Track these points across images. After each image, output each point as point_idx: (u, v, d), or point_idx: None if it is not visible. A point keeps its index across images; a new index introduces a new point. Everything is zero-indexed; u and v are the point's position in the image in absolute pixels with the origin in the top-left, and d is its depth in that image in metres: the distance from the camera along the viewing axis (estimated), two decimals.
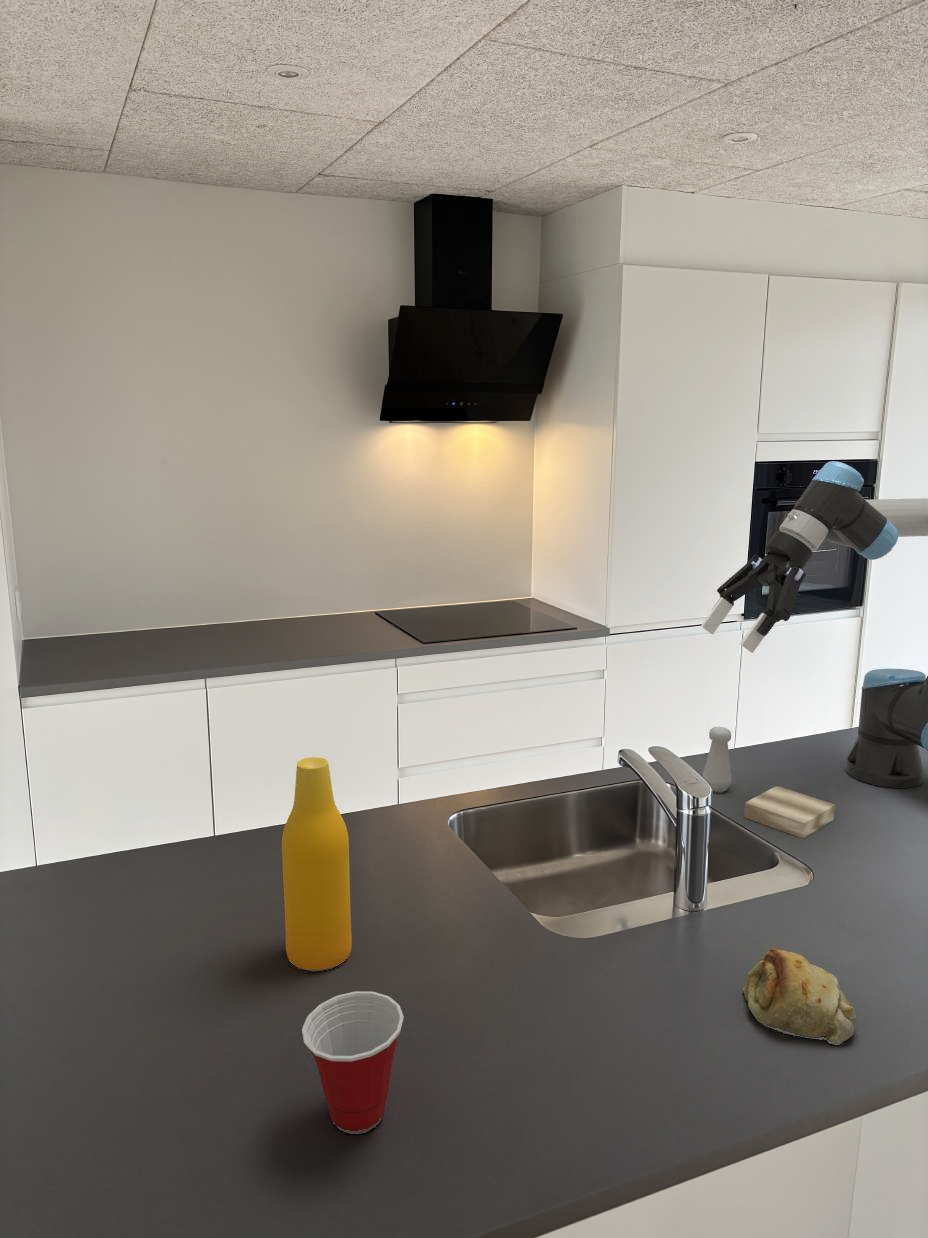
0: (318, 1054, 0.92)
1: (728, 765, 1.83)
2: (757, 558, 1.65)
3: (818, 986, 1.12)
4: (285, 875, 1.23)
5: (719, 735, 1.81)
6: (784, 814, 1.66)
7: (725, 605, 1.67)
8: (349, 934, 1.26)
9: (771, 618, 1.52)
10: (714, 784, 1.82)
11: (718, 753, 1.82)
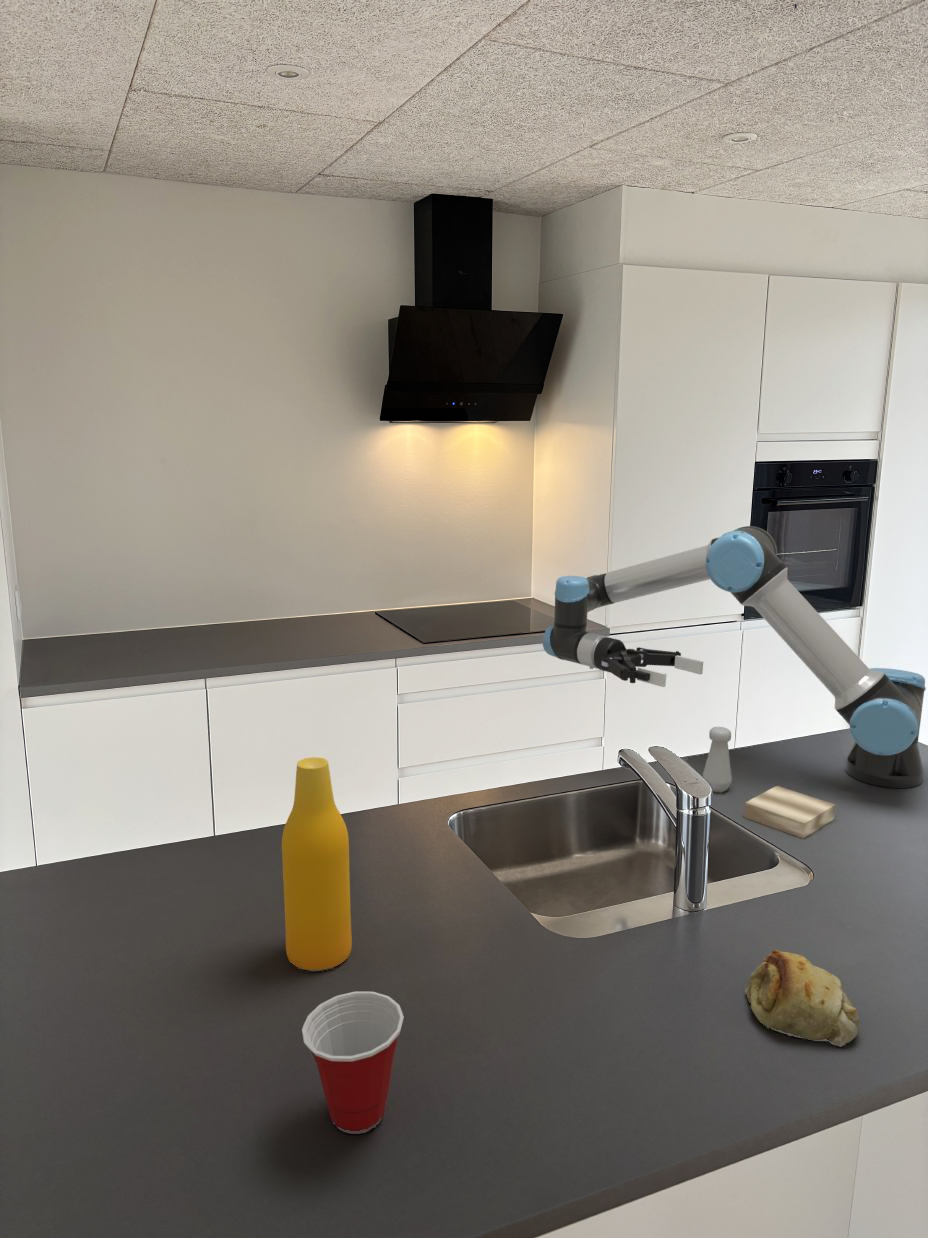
0: (318, 1054, 0.92)
1: (728, 765, 1.83)
2: None
3: (822, 988, 1.11)
4: (285, 875, 1.23)
5: (719, 735, 1.81)
6: (784, 814, 1.66)
7: (678, 663, 1.95)
8: (349, 934, 1.26)
9: (634, 676, 1.86)
10: (714, 784, 1.82)
11: (718, 753, 1.82)
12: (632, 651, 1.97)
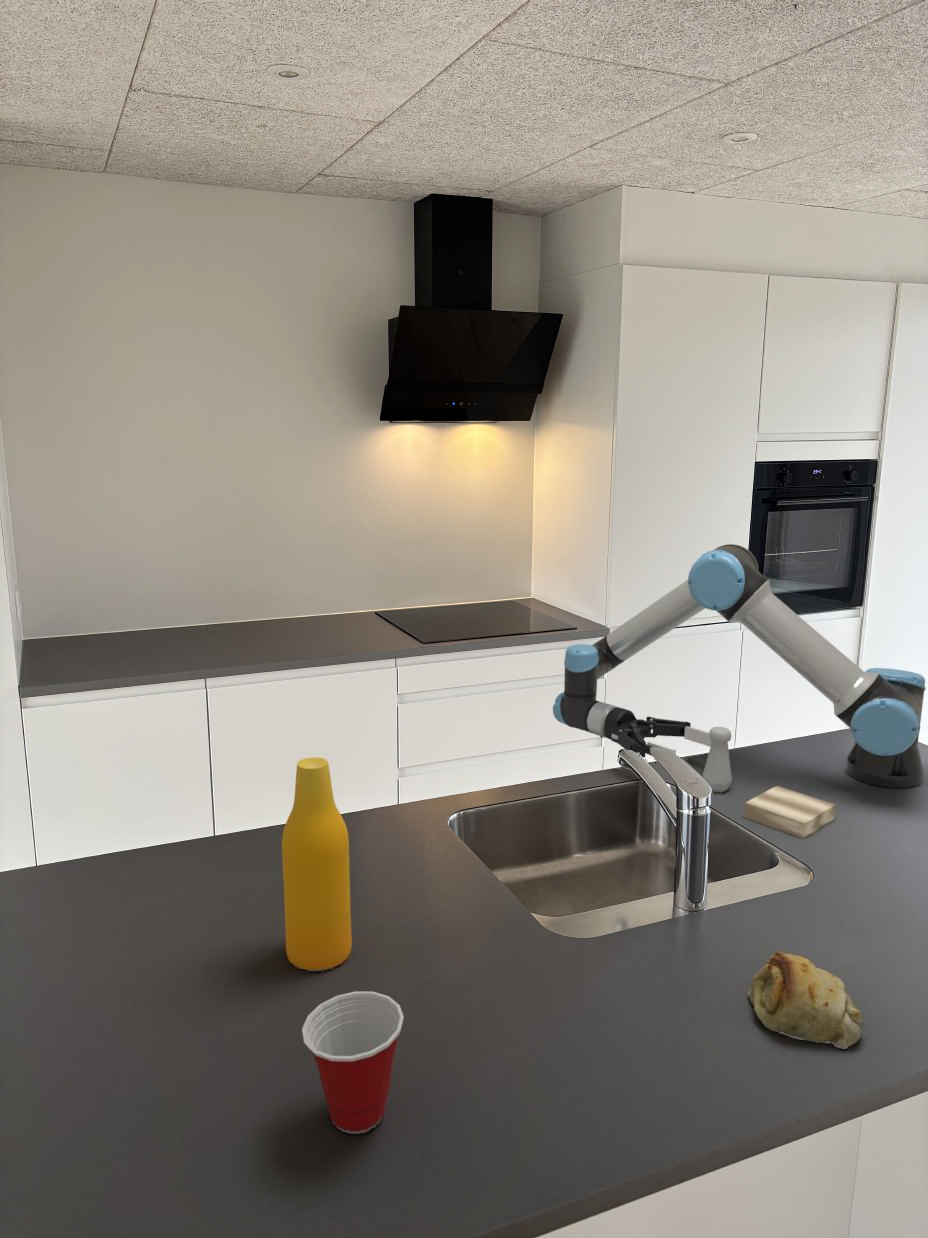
0: (318, 1054, 0.92)
1: (728, 765, 1.83)
2: None
3: (825, 990, 1.11)
4: (285, 875, 1.23)
5: (719, 735, 1.81)
6: (784, 814, 1.66)
7: (687, 734, 1.96)
8: (349, 934, 1.26)
9: (643, 751, 1.87)
10: (714, 784, 1.82)
11: (718, 753, 1.82)
12: (642, 722, 1.98)
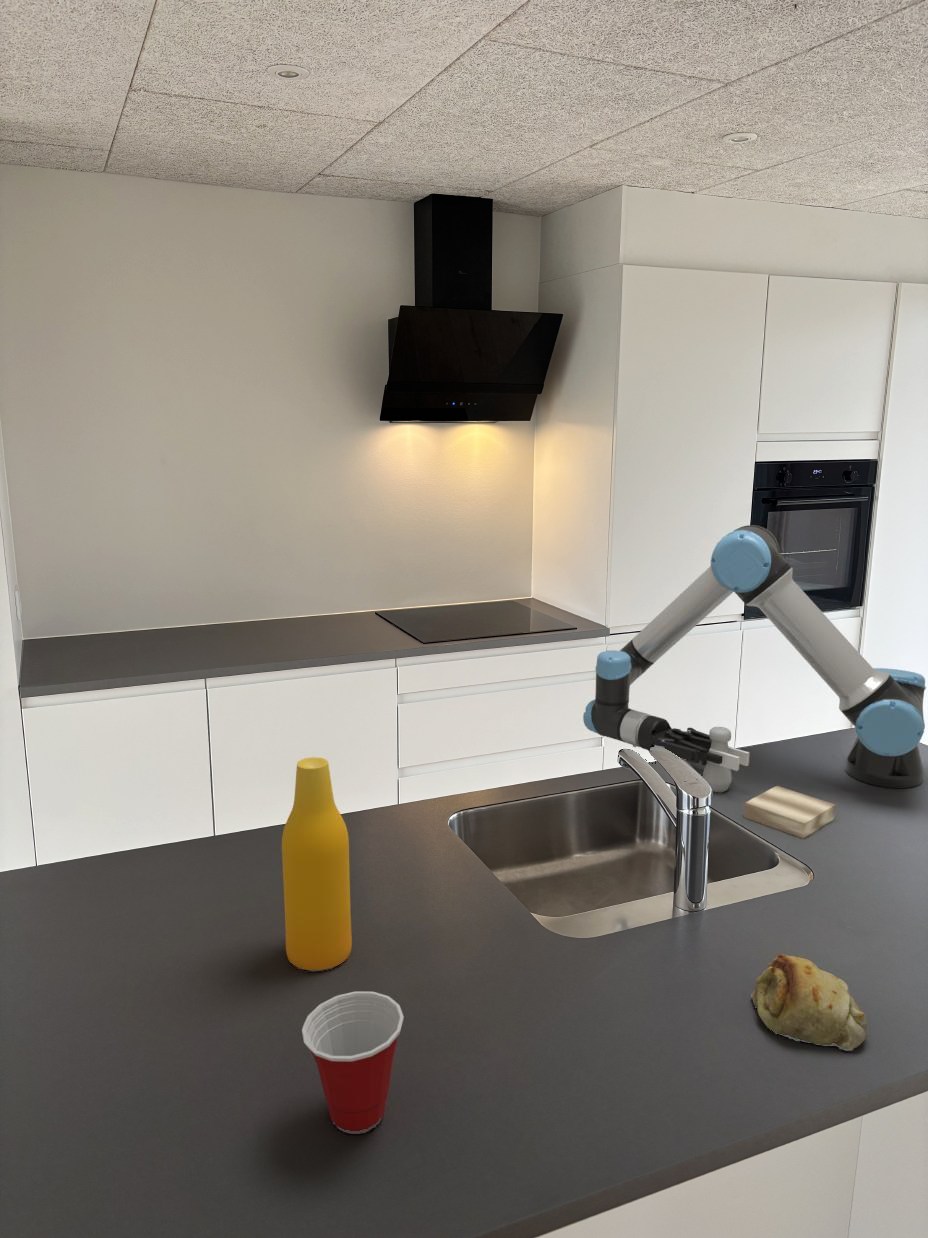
0: (318, 1054, 0.92)
1: None
2: None
3: (829, 992, 1.11)
4: (285, 875, 1.23)
5: (719, 735, 1.81)
6: (784, 814, 1.66)
7: None
8: (349, 934, 1.26)
9: (705, 759, 1.82)
10: (714, 784, 1.82)
11: None
12: (676, 731, 1.91)
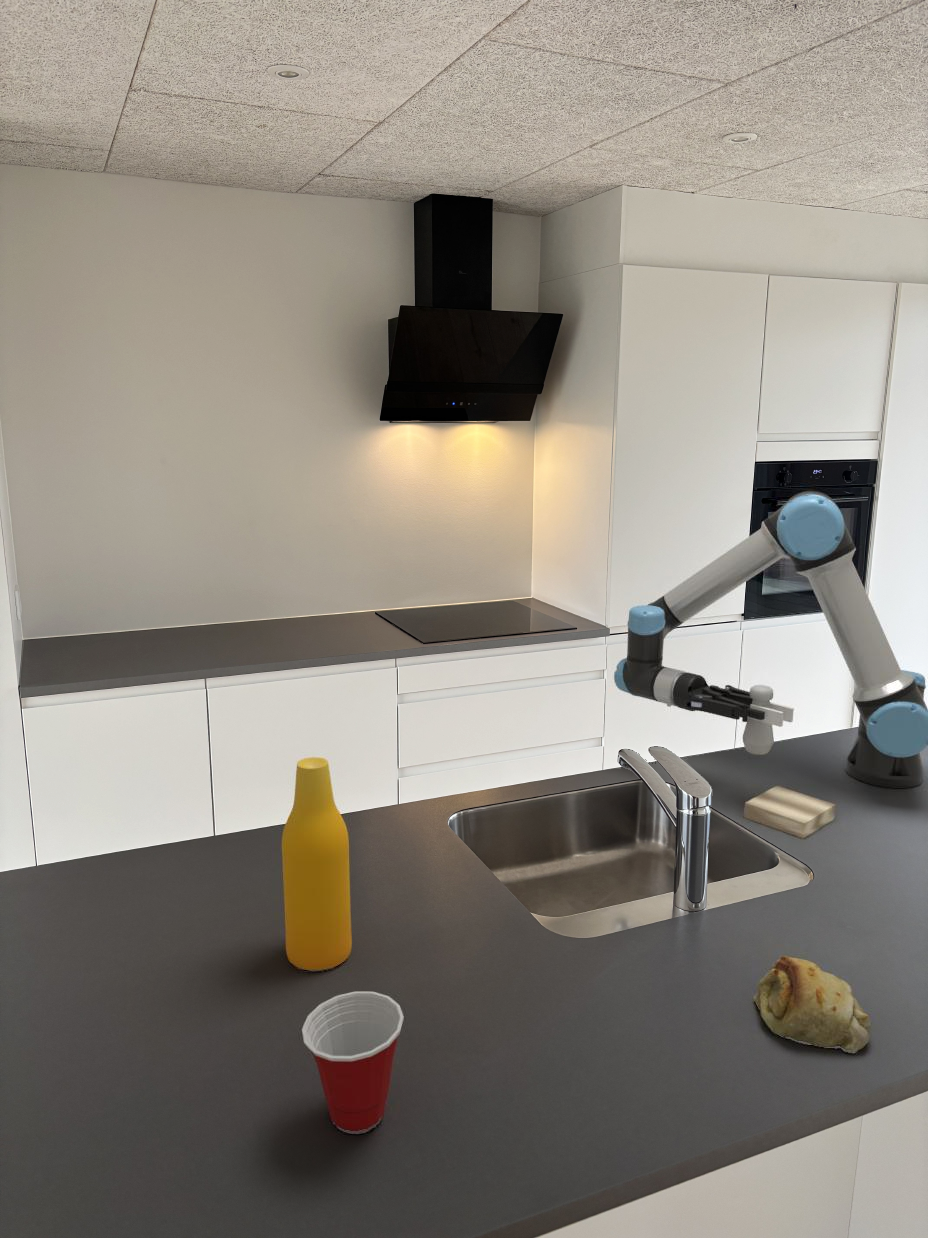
0: (318, 1054, 0.92)
1: (770, 725, 1.72)
2: None
3: (833, 994, 1.10)
4: (285, 875, 1.23)
5: (760, 693, 1.70)
6: (784, 814, 1.66)
7: None
8: (349, 934, 1.26)
9: (746, 715, 1.71)
10: (755, 745, 1.72)
11: None
12: (713, 688, 1.81)
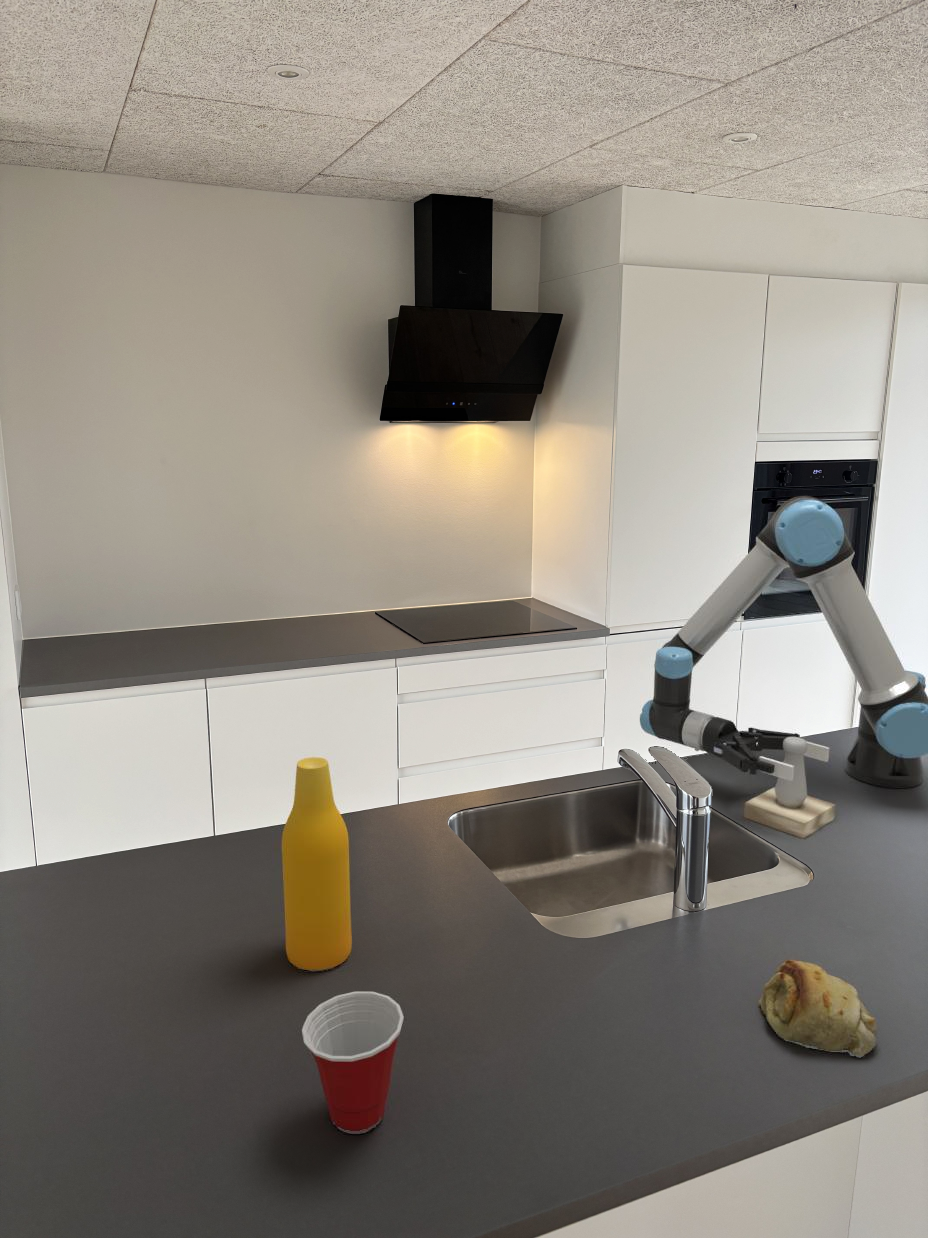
0: (318, 1054, 0.92)
1: (804, 778, 1.68)
2: None
3: (839, 998, 1.10)
4: (285, 875, 1.23)
5: (794, 745, 1.66)
6: (784, 814, 1.66)
7: None
8: (349, 934, 1.26)
9: (755, 768, 1.66)
10: (788, 798, 1.68)
11: (792, 765, 1.68)
12: (746, 734, 1.77)
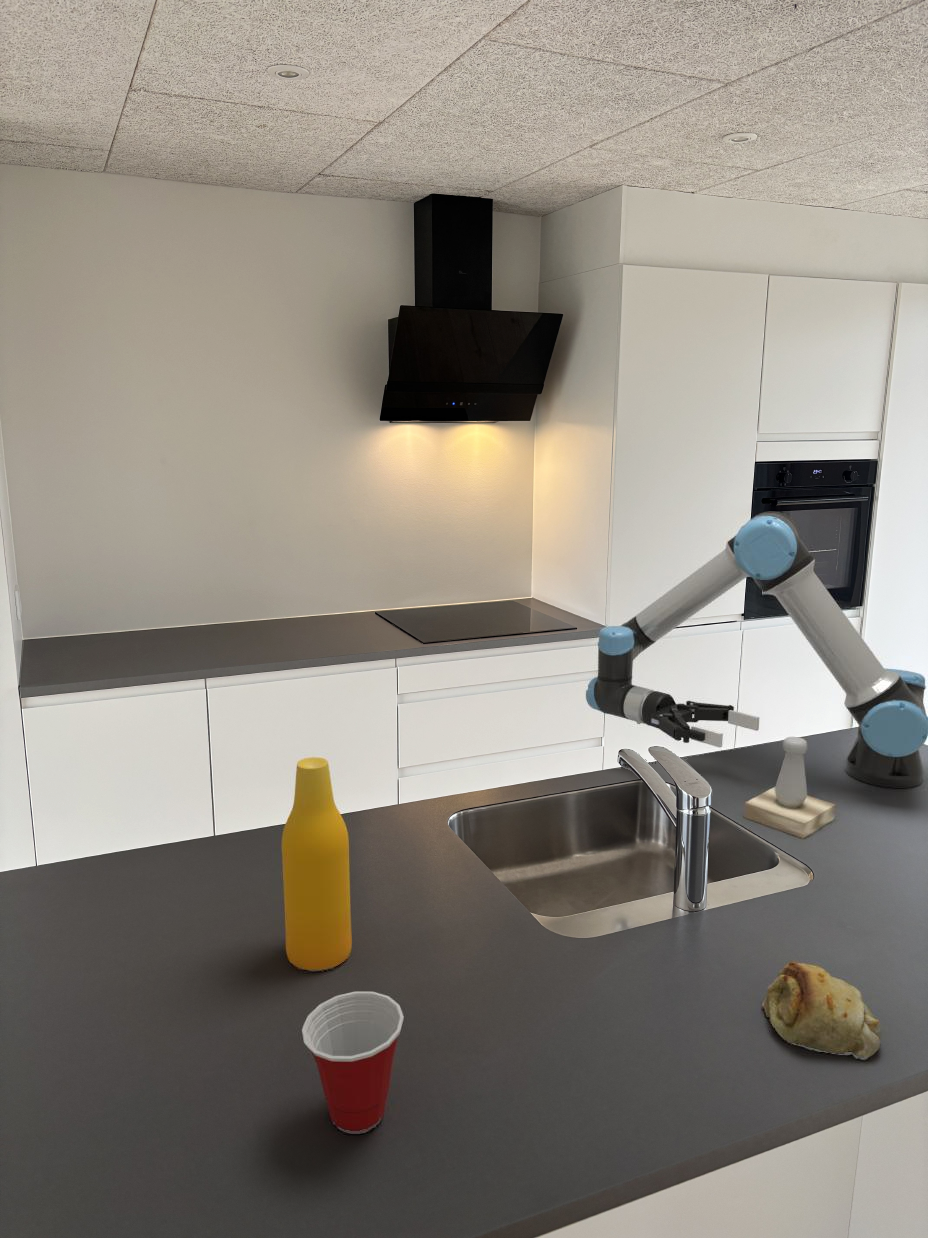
0: (318, 1054, 0.92)
1: (804, 778, 1.68)
2: None
3: (843, 1000, 1.09)
4: (285, 875, 1.23)
5: (794, 745, 1.66)
6: (784, 814, 1.66)
7: (731, 718, 1.85)
8: (349, 934, 1.26)
9: (688, 736, 1.76)
10: (788, 798, 1.68)
11: (792, 765, 1.68)
12: (683, 706, 1.87)
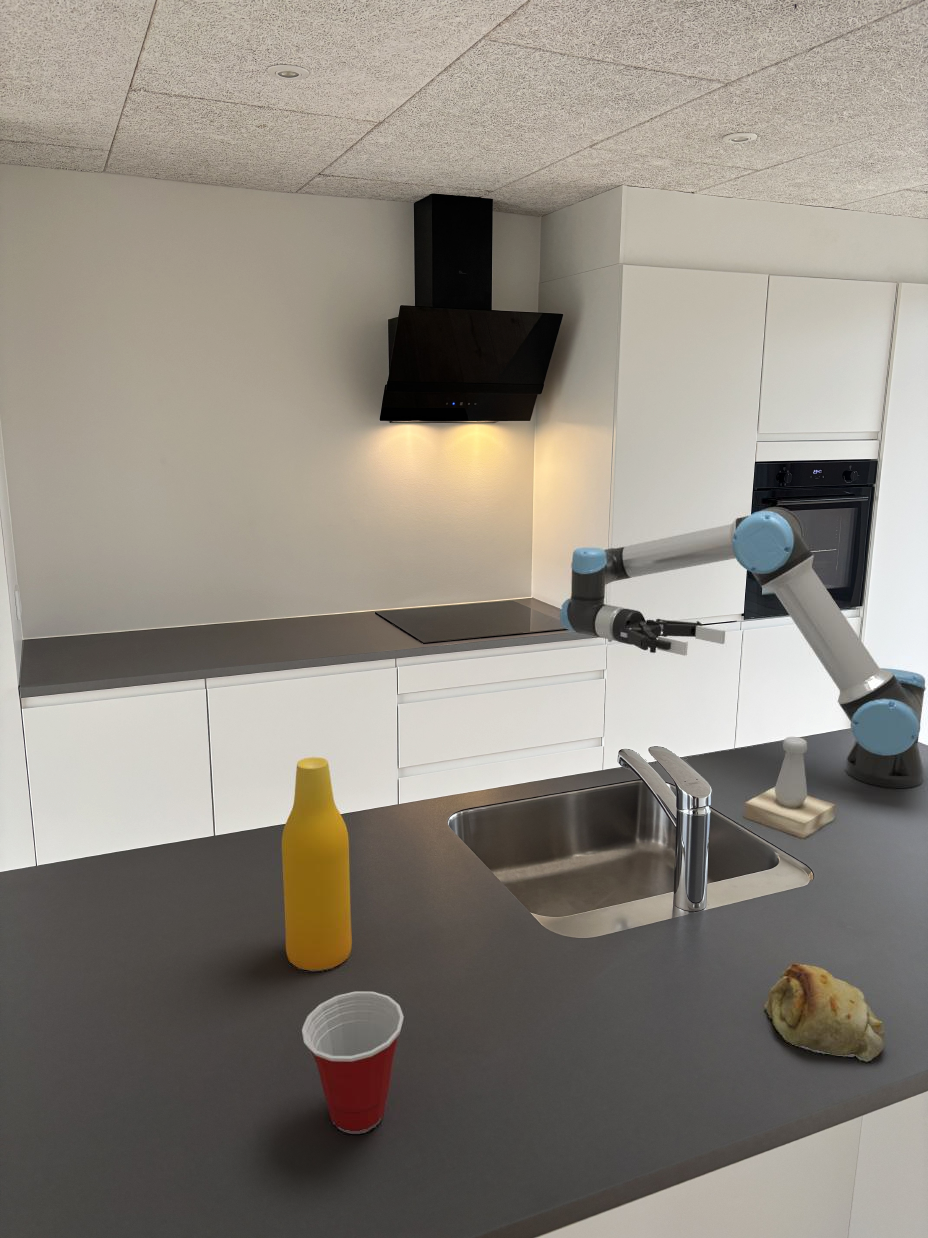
0: (318, 1054, 0.92)
1: (804, 778, 1.68)
2: None
3: (846, 1002, 1.09)
4: (285, 875, 1.23)
5: (794, 745, 1.66)
6: (784, 814, 1.66)
7: (699, 633, 1.90)
8: (349, 934, 1.26)
9: (654, 646, 1.81)
10: (788, 798, 1.68)
11: (792, 765, 1.68)
12: (652, 622, 1.92)
